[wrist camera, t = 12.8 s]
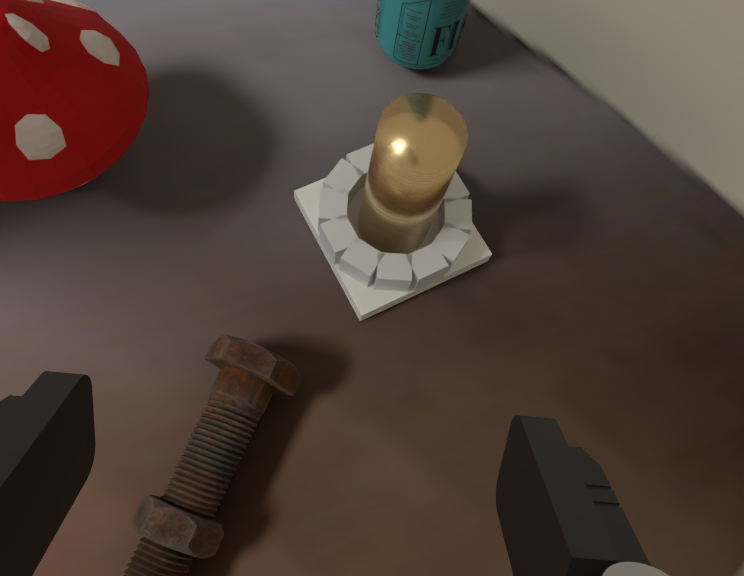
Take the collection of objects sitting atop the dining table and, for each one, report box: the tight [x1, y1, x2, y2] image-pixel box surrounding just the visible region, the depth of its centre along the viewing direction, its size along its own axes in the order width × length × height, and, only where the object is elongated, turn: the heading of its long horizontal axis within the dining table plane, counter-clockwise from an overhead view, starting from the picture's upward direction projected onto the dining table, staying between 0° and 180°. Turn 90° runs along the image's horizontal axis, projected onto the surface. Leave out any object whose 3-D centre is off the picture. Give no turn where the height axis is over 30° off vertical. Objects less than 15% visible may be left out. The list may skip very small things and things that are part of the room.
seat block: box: [294, 144, 492, 321], centre depth 45 cm, size 10×10×3 cm
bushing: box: [358, 93, 468, 254], centre depth 40 cm, size 5×5×11 cm
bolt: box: [124, 335, 302, 576], centre depth 38 cm, size 6×5×15 cm
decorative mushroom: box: [0, 0, 149, 202], centre depth 39 cm, size 14×14×15 cm
